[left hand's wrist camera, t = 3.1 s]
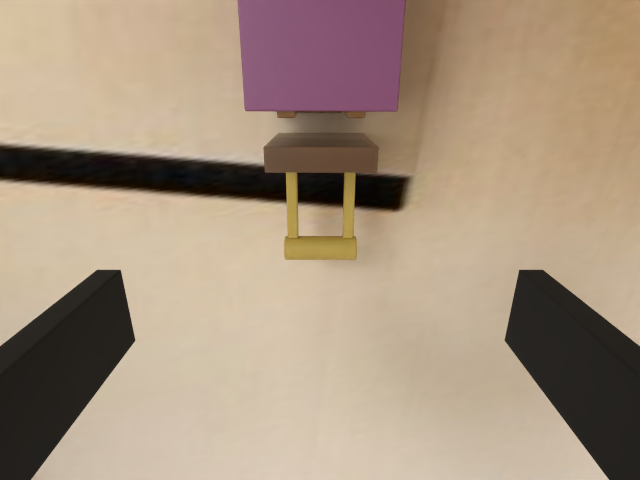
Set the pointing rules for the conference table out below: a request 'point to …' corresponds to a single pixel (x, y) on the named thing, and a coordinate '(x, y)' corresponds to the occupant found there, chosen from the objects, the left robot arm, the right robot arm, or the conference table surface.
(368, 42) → the cabinet
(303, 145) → the drawer
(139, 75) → the conference table surface
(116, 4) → the conference table surface
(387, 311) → the conference table surface
